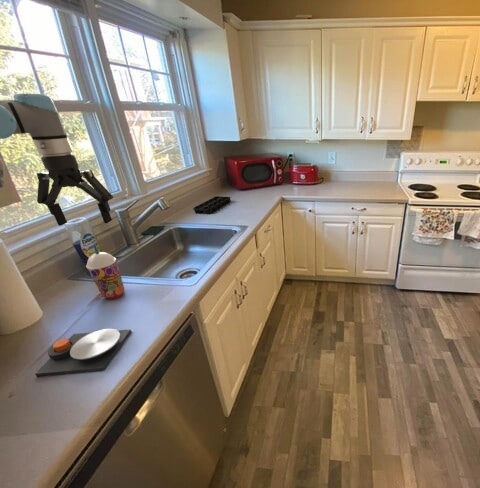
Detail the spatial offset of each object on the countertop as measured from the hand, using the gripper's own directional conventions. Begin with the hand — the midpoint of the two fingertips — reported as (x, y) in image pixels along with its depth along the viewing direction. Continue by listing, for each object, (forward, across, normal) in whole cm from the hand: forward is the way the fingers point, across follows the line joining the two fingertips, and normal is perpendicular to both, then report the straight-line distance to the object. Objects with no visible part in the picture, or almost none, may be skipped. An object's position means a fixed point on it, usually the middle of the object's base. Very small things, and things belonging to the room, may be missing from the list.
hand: (85, 223), depth 90 cm
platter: (+25, +11, -28) cm, 39 cm away
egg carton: (+29, +11, +101) cm, 105 cm away
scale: (+28, +8, -28) cm, 41 cm away
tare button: (+25, +2, -28) cm, 38 cm away
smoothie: (+28, 0, 0) cm, 28 cm away
